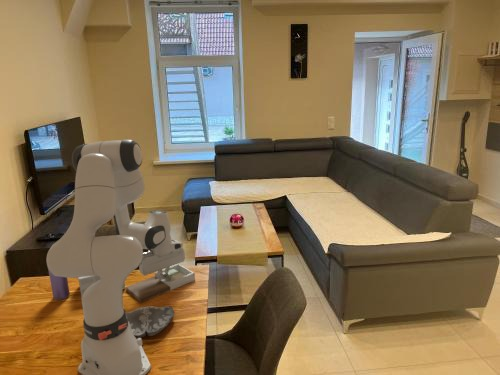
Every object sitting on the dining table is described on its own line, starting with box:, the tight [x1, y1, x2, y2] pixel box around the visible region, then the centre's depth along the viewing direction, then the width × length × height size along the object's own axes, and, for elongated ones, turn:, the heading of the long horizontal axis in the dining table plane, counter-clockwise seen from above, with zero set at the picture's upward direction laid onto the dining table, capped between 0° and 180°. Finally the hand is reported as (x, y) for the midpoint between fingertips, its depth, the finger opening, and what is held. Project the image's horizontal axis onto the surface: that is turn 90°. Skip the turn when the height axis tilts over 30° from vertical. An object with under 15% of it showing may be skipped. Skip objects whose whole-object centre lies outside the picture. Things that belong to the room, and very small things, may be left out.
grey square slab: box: [125, 276, 171, 303], centre depth 153 cm, size 13×13×2 cm
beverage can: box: [47, 268, 70, 301], centre depth 149 cm, size 6×6×15 cm
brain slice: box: [125, 305, 175, 338], centre depth 129 cm, size 20×17×3 cm
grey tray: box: [154, 263, 196, 291], centre depth 161 cm, size 12×12×4 cm
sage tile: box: [166, 269, 179, 281], centre depth 163 cm, size 4×4×2 cm
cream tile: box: [171, 273, 185, 281], centre depth 159 cm, size 4×4×2 cm
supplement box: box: [77, 276, 126, 299], centre depth 156 cm, size 17×13×9 cm
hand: (164, 277), depth 161 cm, fingers closed
